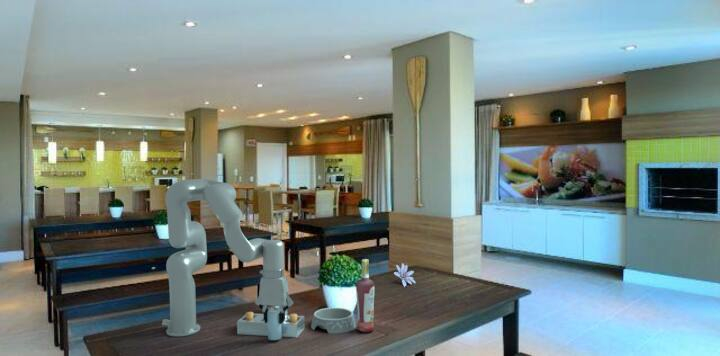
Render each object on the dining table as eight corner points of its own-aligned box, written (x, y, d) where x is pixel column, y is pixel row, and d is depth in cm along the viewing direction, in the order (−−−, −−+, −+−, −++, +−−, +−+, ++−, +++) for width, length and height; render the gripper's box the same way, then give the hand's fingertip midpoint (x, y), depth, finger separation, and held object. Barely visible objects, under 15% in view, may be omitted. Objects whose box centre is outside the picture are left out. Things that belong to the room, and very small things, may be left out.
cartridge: (270, 335, 179) (269, 304, 179) (283, 335, 178) (282, 304, 178) (266, 339, 174) (265, 308, 174) (279, 340, 173) (278, 308, 173)
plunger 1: (244, 326, 186) (244, 313, 186) (247, 323, 189) (247, 311, 189) (251, 326, 186) (251, 314, 185) (254, 324, 189) (254, 311, 188)
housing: (237, 334, 183) (237, 321, 183) (247, 325, 193) (247, 313, 193) (297, 337, 179) (297, 324, 179) (304, 328, 189) (304, 315, 189)
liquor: (368, 335, 181) (368, 262, 180) (352, 331, 185) (352, 260, 184) (378, 329, 187) (377, 259, 186) (362, 326, 191) (362, 257, 190)
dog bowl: (327, 316, 204) (327, 304, 204) (363, 323, 194) (363, 310, 194) (302, 328, 190) (302, 315, 189) (340, 337, 180) (340, 323, 180)
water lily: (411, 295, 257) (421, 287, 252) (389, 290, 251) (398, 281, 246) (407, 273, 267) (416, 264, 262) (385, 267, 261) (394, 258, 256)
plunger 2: (288, 328, 183) (288, 315, 183) (290, 326, 186) (290, 313, 186) (296, 329, 183) (295, 316, 182) (298, 326, 186) (298, 313, 185)
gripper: (247, 275, 173) (248, 324, 174) (292, 276, 170) (293, 326, 171) (255, 270, 180) (256, 317, 181) (298, 272, 178) (299, 319, 178)
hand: (274, 321), depth 176 cm, fingers closed on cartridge, 5 cm apart
